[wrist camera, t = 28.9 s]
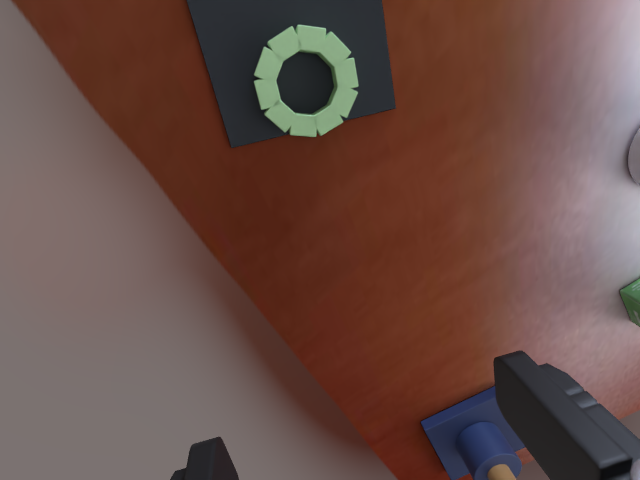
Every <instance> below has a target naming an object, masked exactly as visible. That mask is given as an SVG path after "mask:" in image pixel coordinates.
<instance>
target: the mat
mask: <svg viewBox="0 0 640 480" xmlns="http://www.w3.org/2000/svg"><path fill="white" fill-rule="evenodd" d="M187 3H188V6H189V10H190V13H191V16H192V20H193V23H194V26H195V29H196V33H197V36H198V39H199V43H200V46H201V49H202V52H203V56H204V59H205V62H206V66H207V69H208V72H209V76H210V79H211V82H212V85H213V89H214V92H215V95H216V99H217V102H218V105H219V108H220V112H221V115H222V118H223V122H224V125H225V128H226V132H227V135H228V138H229V141H230V145H231V148H234V147H238V146H242V145H246V144H250V143H254V142H258V141H262V140H267V139H271V138H275V137H279V136H283V135H287V134H289V129H288V130H287V131H286V132H283V131H282V130H281V129H280V128H279V127H278V126H276V125H275V124H274V123H273V122H272V121H271V120H270V119H268V118H267V117H266V116H265V115H264V113H265V111H266V110H267V109H264V110H261V107H260V104H259V100H258V96H257V92H256V88H255V85H254V81H255V80H259V79H260V78H258V77H256V76H254V73H255V70H256V67H257V65H258V62H259V59H260V56H261V53H262V50H263V47H266V48H268V49H270V48H269V46H268V45H267V43H268V41H269V40H271V39H273V38H274V37H276V36H277V35H279V34H280V33H282V32H283V31H285V30H286V29H288V28H289V27H291V26H293V28H294V30H296V27H297V25H305V26H312V27H320V28H325V29H326V35H327V34H328V33H329V32H333V33H334V35H335V36H336V37H337V38H338V39H339V40H340V41H341V42H342V43H343V44H344V45H345V46H346V47H347V48H348V49H349V50H350V51H351V54H350V55H349V56H348V57H347V59H349V58H354V61H355V67H356V73H357V79H358V85H359V86H358V87H356V88H352V89H353V90H355V91H357V92H358V94H357V96H356V98H355V101H354V103H353V105H352V107H351V110H350V112H349V114H348V117H347V118H345V117H343V116H341V115H340V116H341V118H342V120H343V121H345V120H349V119H353V118H358V117H362V116H366V115H370V114H374V113H378V112H382V111H386V110H391V109H395V108H396V107H395V99H394V91H393V84H392V76H391V68H390V60H389V53H388V45H387V37H386V30H385V22H384V14H383V7H382V0H187ZM276 82H277V86H278V90H279V94H280V99H281V101H282V102H283V103H284V104H285V105H286V106H288V107H289V108H290V109H291V110H292V111H293V112H295V113H306V114H313V113H314V112H316V111H317V110H319V109H320V108H322V107H324V106H325V105H327V103H328V101H329V98H330V96H331V93H332V91H333V89H334V83H333V78H332V72H331V68H330V67H329V66H328V65H327V64H326V63H325V62H324V61H323V60H322V59H321V58H320V57H319V56H318V55H317V54H313V53H305V52H297V53H296V54H294V55H293V56H291V57H289V58H288V59H286V60H285V61H283V63H282V66H281V69H280V72H279V74H278V77H277V80H276Z"/></svg>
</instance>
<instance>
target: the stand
mask: <svg viewBox="0 0 640 480" xmlns="http://www.w3.org/2000/svg"><path fill="white" fill-rule="evenodd" d="M421 424H422V426H423V429H424V431H425V433H426V434H427V436H428V438H429V440H430V442H431V444H432V446H433V447H434V449H435V451H436V453H437V455H438V457H439V458H440V460H441V462H442V464H443V466H444V468H445V470H446V471H447V473H448V475H449V477H450V479H451V480H456V479H458V478H460V477H462V476H464V475H467V474H469V473H470V474H471V476H472V478H473V480H516V477H517V476H518V475H519V473H520V471H521V467H522V463H521V460H520V459H519V457H518V456H517V454H516V453H515V452H516V451H518V450H520V449H522V448H524V447H525V445H524V444H523V443H522V441H521V440H520V439H519V437H518V436H517V435H516V433H515V432H514V431H513V429H512V428H511V427H510V425H509V424H508V423H507V421H506V420H505V418H504V417H503V415H502V413H501V411H500V409H499V407H498V404H497V400H496V392H495V386H494V387H492V388H490V389H488V390H486V391H483V392H481V393H479V394H477V395H475V396H473V397H471V398H469V399H467V400H465V401H463V402H460V403H458V404H456V405H454V406H452V407H450V408H448V409H446V410H444V411H442V412H440V413H437V414H435V415H433V416H431V417H429V418H427V419H425V420H423V421H421Z"/></svg>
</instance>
